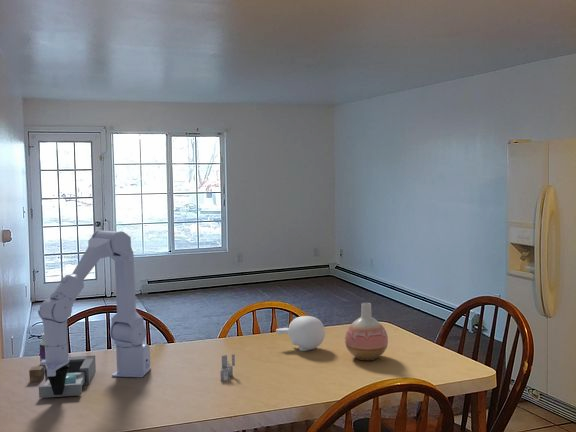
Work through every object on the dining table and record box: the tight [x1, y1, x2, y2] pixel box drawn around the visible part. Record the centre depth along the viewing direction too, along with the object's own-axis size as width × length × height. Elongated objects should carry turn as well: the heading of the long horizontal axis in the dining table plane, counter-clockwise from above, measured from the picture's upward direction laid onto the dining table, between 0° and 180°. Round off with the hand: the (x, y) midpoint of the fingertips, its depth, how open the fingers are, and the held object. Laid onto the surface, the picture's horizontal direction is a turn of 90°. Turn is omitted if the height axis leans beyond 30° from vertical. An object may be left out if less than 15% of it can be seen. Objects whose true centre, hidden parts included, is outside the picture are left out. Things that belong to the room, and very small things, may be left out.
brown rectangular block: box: [28, 365, 45, 383], centre depth 179 cm, size 3×3×4 cm
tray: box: [38, 372, 86, 399], centre depth 170 cm, size 11×12×3 cm
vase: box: [344, 302, 389, 362], centre depth 195 cm, size 14×14×18 cm
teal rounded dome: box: [65, 373, 76, 384], centre depth 171 cm, size 6×6×2 cm
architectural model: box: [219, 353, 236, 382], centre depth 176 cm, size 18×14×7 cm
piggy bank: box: [275, 315, 326, 352], centre depth 206 cm, size 12×12×15 cm
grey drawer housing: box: [44, 355, 97, 386], centre depth 179 cm, size 12×12×5 cm
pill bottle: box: [39, 332, 45, 364], centre depth 194 cm, size 5×5×10 cm
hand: (58, 394), depth 163 cm, fingers closed
